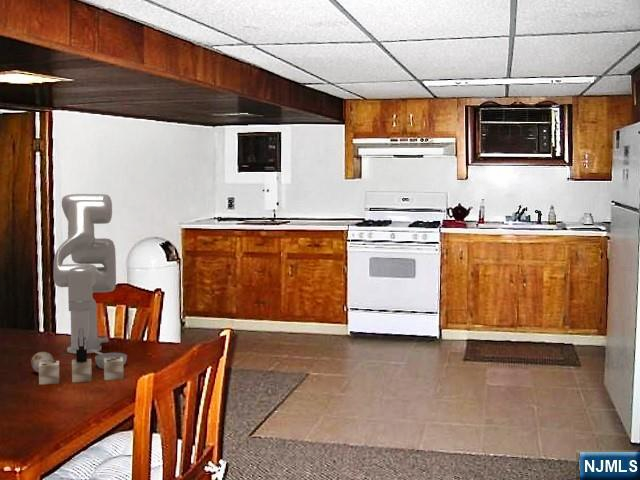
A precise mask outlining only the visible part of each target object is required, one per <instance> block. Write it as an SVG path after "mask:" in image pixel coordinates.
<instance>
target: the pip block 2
mask: <svg viewBox="0 0 640 480" xmlns="http://www.w3.org/2000/svg"><path fill="white" fill-rule="evenodd" d="M124 375H125V374H124V366H123V357H113V358H104V369H103V379H104V381H112V380H124V377H125V376H124Z"/></svg>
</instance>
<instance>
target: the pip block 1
mask: <svg viewBox="0 0 640 480" xmlns="http://www.w3.org/2000/svg"><path fill="white" fill-rule="evenodd" d="M59 373H60V360H54V361H46V362H40V363H39V373H38V385H39V386H40V385H41V386H42V385H53V384H54V385H55V384H56V385H57V384H59V383H60V374H59Z"/></svg>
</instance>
